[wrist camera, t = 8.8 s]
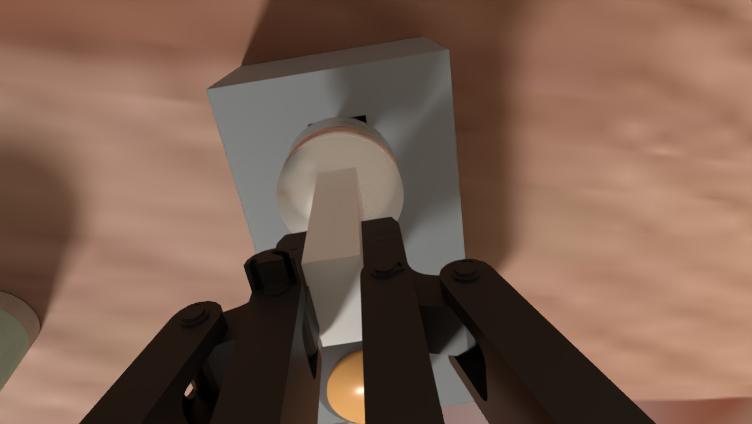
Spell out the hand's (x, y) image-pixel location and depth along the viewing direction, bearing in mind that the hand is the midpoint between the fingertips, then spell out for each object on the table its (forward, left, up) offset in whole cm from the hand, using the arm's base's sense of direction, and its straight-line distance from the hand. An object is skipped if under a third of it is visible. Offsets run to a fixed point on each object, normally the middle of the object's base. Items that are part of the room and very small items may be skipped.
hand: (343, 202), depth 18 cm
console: (+8, 0, -15) cm, 17 cm away
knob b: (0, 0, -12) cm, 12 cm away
